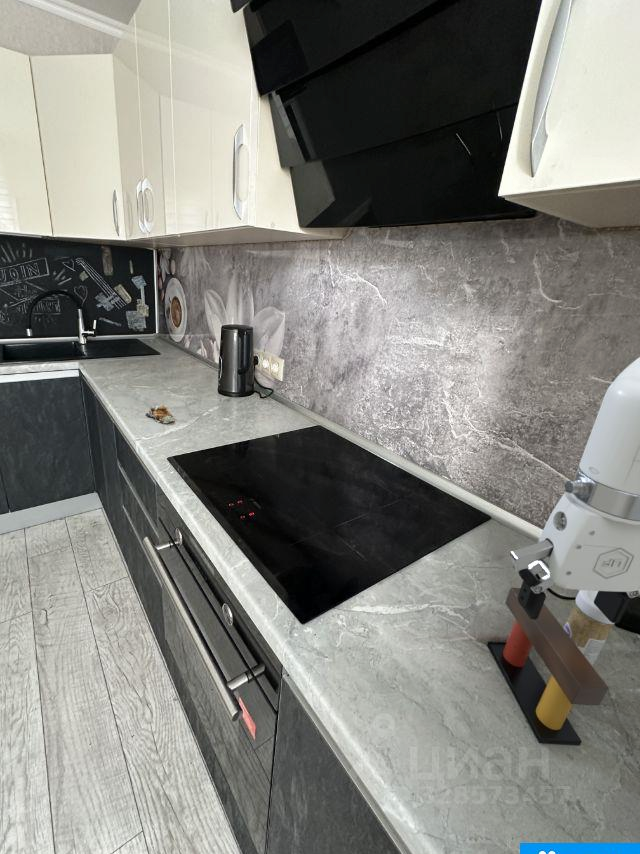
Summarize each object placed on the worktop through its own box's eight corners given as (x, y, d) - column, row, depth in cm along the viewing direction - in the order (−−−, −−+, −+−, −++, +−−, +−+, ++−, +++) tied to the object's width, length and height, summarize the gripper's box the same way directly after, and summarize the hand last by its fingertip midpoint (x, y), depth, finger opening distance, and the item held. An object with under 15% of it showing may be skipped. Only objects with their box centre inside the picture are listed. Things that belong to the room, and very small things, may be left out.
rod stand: (519, 646, 59) (535, 607, 56) (580, 745, 47) (604, 702, 44) (486, 645, 59) (501, 605, 56) (539, 743, 47) (560, 699, 44)
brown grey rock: (163, 425, 128) (163, 415, 126) (143, 415, 135) (143, 405, 134) (181, 420, 133) (181, 410, 132) (161, 410, 140) (161, 401, 139)
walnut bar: (599, 706, 43) (609, 688, 42) (571, 704, 43) (580, 686, 42) (526, 604, 56) (532, 588, 55) (504, 602, 56) (510, 587, 55)
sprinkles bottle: (541, 653, 58) (571, 584, 53) (571, 655, 58) (604, 586, 53) (562, 684, 54) (597, 612, 49) (594, 686, 54) (632, 614, 49)
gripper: (558, 510, 38) (512, 635, 44) (733, 517, 38) (663, 642, 44) (515, 471, 45) (481, 585, 51) (664, 478, 45) (611, 590, 51)
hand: (565, 611), depth 48 cm, fingers open, 9 cm apart
